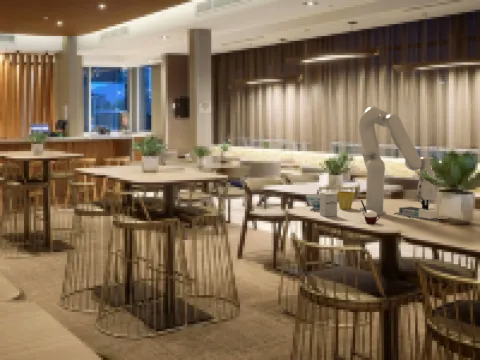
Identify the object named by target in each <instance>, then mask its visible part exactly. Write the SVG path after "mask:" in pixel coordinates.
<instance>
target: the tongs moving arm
mask: <svg viewBox="0 0 480 360" xmlns="http://www.w3.org/2000/svg"><path fill="white" fill-rule="evenodd" d="M411 207H412V210H413V211H419V209H423V210H429V208H428V209H424V208H422V207H418V206H411Z"/></svg>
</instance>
